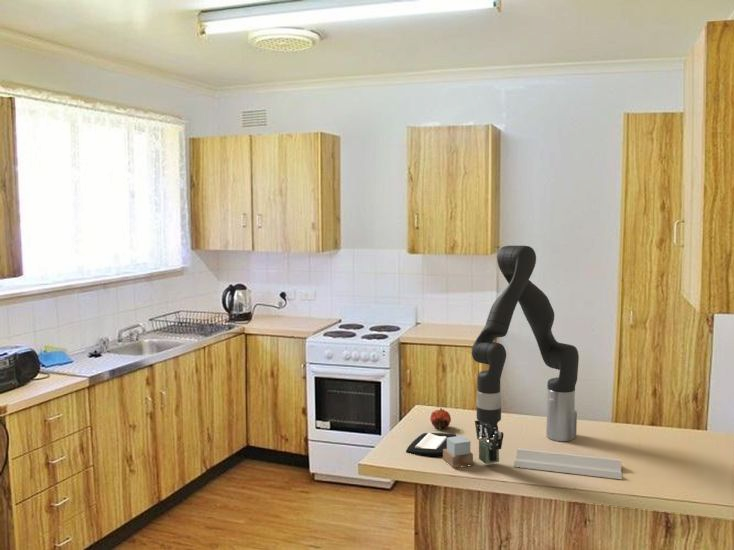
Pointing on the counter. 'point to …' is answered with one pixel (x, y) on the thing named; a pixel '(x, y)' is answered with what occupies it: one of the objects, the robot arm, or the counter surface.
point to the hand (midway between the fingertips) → (488, 457)
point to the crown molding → (568, 463)
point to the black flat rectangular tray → (429, 444)
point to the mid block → (458, 445)
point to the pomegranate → (440, 418)
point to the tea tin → (485, 451)
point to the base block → (457, 459)
